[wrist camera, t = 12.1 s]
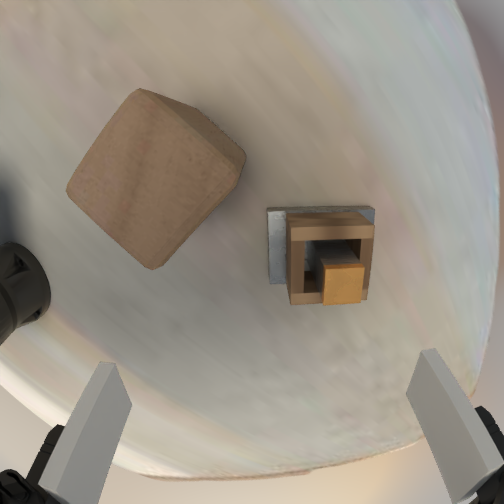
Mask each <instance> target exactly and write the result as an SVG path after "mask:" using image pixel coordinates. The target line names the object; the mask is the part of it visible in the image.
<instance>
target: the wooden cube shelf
mask: <svg viewBox="0 0 504 504" xmlns="http://www.w3.org/2000/svg"><path fill="white" fill-rule="evenodd" d="M374 228H375V225H374V224H372V223H371V222H370V221H369V220H368V219H367V218H365V217H364V216H363V215H362V214H361V213H359V212H318V213H286V284H287V289H288V294H289V299H290V304H291V305H300V304H317V303H322V301H321V298H320V295H319V292H318V290H317V287H316V284H315V282H314V279H313V276H312V274H311V271H304V259H305V240H332V239H346V243H347V245H348V246H349V247H350V249H351V250H352V251H353V253H354V254H355V255H356V257H357V258H358V259H359V261H360V262H361V263H362V265H363V266H364V267H365V269H364V278H363V287H362V295H361V300H367V294H368V286H369V278H370V270H371V261H372V251H373V240H374Z"/></svg>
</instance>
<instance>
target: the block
mask: <svg viewBox="0 0 504 504" xmlns="http://www.w3.org/2000/svg"><path fill="white" fill-rule="evenodd" d="M245 160H246V154H245V152H244V151H243V150H242V149H241V148H240V147H239V146H238V145H237V144H236V143H235V142H233V141H232V140H231V139H230V138H229V137H228V136H227V135H226V134H225V133H223V132H222V131H221V130H220V129H219V128H218V127H217V126H216V125H215V124H213V123H212V122H211V121H210V120H209V119H208V118H207V117H205V116H204V115H203V114H202V113H201V112H200V111H199V110H197V109H196V108H193V107H191V106H188V105H186V104H183V103H181V102H178V101H176V100H173V99H170V98H168V97H165V96H162V95H160V94H157V93H154V92H151V91H148V90H144V89H140V88H139V89H137V90H136V91H134V92H133V93H131V94H130V95H129V96H128V97H127V98H126V100H125V101H124V102H123V104H122V105H121V106H120V107H119V109H118V110H117V111H116V113H115V114H114V115H113V117H112V118H111V119H110V121H109V122H108V123H107V125H106V126H105V127H104V129H103V130H102V132H101V133H100V134H99V136H98V137H97V139H96V140H95V142H94V143H93V144H92V146H91V147H90V149H89V150H88V152H87V153H86V155H85V156H84V158H83V160H82V161H81V163H80V164H79V166H78V167H77V169H76V171H75V172H74V174H73V175H72V177H71V179H70V180H69V182H68V184H67V188H66V192H67V194H68V196H69V198H70V199H71V200H72V201H73V202H74V203H75V204H76V205H77V206H78V207H79V208H80V209H81V210H83V211H84V212H85V213H86V214H87V215H88V216H89V217H90V218H91V219H92V220H93V221H94V222H95V223H96V224H97V225H98V226H99V227H101V228H102V229H103V230H104V231H105V232H106V233H107V234H108V235H109V236H110V237H111V238H113V239H114V240H115V241H116V242H117V243H118V244H119V245H120V246H121V247H123V248H124V249H125V250H126V251H127V252H128V253H129V254H131V255H132V256H133V257H134V258H135V259H136V260H137V261H139V262H140V263H141V264H142V265H143V266H144V267H146V268H148V269H151V270H154V269H156V268H159V267H161V266H163V265H164V264H165V263H166V262H167V261H168V259H169V258H170V257H171V256H172V255H173V254H174V253H175V252H176V250H177V249H178V248H179V247H180V246H181V245H182V244H183V243H184V242H185V240H186V239H187V238H188V237H189V236H190V235H191V234H192V233H193V232H194V231H195V229H196V228H197V227H198V226H199V225H200V224H201V223H202V222H203V221H204V220H205V219H206V218H207V216H208V215H209V214H210V213H211V212H212V211H213V210H214V209H215V208H216V207H217V206H218V205H219V204H220V203H221V202H222V200H223V199H224V198H225V197H226V196H227V195H228V194H229V193H230V192H231V191H232V190H233V189H234V188H235V187H236V184H237V182H238V179H239V177H240V174H241V171H242V168H243V165H244V163H245Z"/></svg>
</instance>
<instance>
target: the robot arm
mask: <svg viewBox="0 0 504 504" xmlns="http://www.w3.org/2000/svg"><path fill="white" fill-rule="evenodd" d="M49 303H50V288H49V284H48V281H47V278H46V275H45V273H44V271H43V269H42V267H41V265H40V264H39V262H38V261H37V260H36V258H35V257H34V256H33V255H32V254H31V253H30V252H29V251H28V250H27V249H26V248H24V247H23V246H21V245H19V244H16V243H6V244H4V245H2V246H0V346H1V344H2V343H3V342H4V341H5V340H6V339H7V338H8V337H9V336H10V334H11V333H12V332H13V331H14V330H15V329H17V328H19V327H21V326H24V325H26V324H29V323H31V322H34V321H36V320H38V319H39V318H40V317H41V316H42V315H43V314H44V313H45V312H46V311H47V309H48V307H49ZM406 395H407V397H408V399H409V401H410V404H411V406H412V408H413V410H414V412H415V414H416V417H417V419H418V421H419V423H420V425H421V428H422V430H423V432H424V434H425V437H426V439H427V441H428V444H429V446H430V448H431V451H432V453H433V455H434V458H435V460H436V463H437V465H438V468H439V470H440V472H441V475H442V477H443V480H444V483H445V485H446V487H447V490H448V493H449V496H450V498H451V501H452V504H457V503H460V502H462V501H464V500H466V499H468V498H470V497H471V496H472V495H473V494H474V493H475V492H477V495H478V496H477V497H476V498H475V499H474V500H473V501H472V502H470V503H469V504H504V435H503V434H502V432H501V431H500V429H499V427H498V425H497V424H495V420H494V419H493V417H492V415H491V414H490V413H489V412H488V411H487V410H486V409H485V408H483V407H482V406H479V407H477V408H474V407H473V405H472V404H471V402H470V401H469V399H468V397H467V396H466V394H465V393H464V391H463V389H462V388H461V386H460V385H459V383H458V382H457V380H456V378H455V377H454V375H453V374H452V372H451V371H450V369H449V368H448V366H447V365H446V363H445V362H444V360H443V359H442V357H441V356H440V354H439V353H438V352H437V350H436V349H435V348H433V349H428V350H423V351H421V353H420V356H419V359H418V362H417V365H416V368H415V370H414V373H413V376H412V379H411V382H410V384H409V387H408V389H407V392H406ZM131 407H132V403H131V401H130V399H129V396H128V394H127V392H126V389H125V387H124V385H123V382H122V380H121V377H120V375H119V372H118V370H117V367H116V364H115V363H108V362H100V363H99V365H98V366H97V368H96V370H95V372H94V374H93V375H92V377H91V379H90V381H89V382H88V384H87V386H86V388H85V390H84V392H83V393H82V395H81V397H80V399H79V401H78V403H77V405H76V407H75V408H74V410H73V412H72V414H71V416H70V418H69V420H68V422H67V424H66V426H62V425H58V424H57V425H56V426H55V427H54V428H53V429H52V430H51V431H50V432H49V433H48V435H47V437H46V439H45V441H44V444H43V445H42V447H41V449H40V452H38V455H37V457H36V459H35V461H34V463H33V465H32V467H31V469H30V471H29V473H28V475H27V477H26V479H24V478H23V477H22V476H21V475H20V474H19V473H18V472H17V471H15V470H12V469H8V470H4V471H2V472H1V473H0V504H98V502H99V498H100V495H101V492H102V489H103V486H104V483H105V480H106V477H107V474H108V471H109V468H110V465H111V462H112V459H113V457H114V454H115V451H116V448H117V445H118V442H119V440H120V437H121V434H122V431H123V428H124V426H125V423H126V420H127V418H128V415H129V412H130V410H131Z"/></svg>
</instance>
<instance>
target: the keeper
mask: <svg viewBox="0 0 504 504" xmlns="http://www.w3.org/2000/svg"><path fill="white" fill-rule="evenodd" d="M267 211H268V245H269V279H270V284H283V283H286V213H318V212H359V213H361V214H362V215H363V216H364V217H365V218H367V219H368V220H369V221H370V222H371V223H372V224H374V215H375V209H373V208H372V207H370V206H322V207H281V208H267ZM364 269H365V267H364V266H363V265H362V263H361V262H360V261H359V259H358V258H357V257H356V255H355V254H354V253H353V251H352V250H351V249H350V247H349V246H348V245H347V243H346V239H332V240H305V259H304V271H311V274H312V276H313V279H314V282H315V284H316V287H317V290H318V292H319V295H320V298H321V301H322V303H323V305H337V304H351V303H360V302H361V295H362V287H363V278H364Z"/></svg>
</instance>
